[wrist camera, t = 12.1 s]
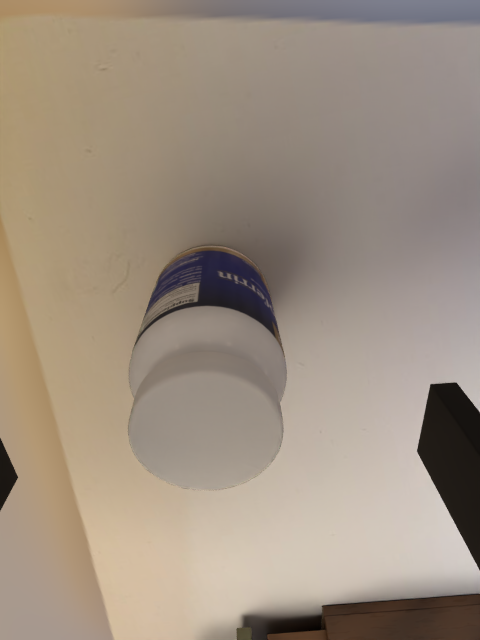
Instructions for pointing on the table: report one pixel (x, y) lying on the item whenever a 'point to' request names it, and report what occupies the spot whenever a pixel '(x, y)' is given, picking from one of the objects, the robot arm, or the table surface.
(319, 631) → the drawer
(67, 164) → the table surface
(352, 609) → the cabinet
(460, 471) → the robot arm
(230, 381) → the pill bottle
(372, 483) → the table surface
